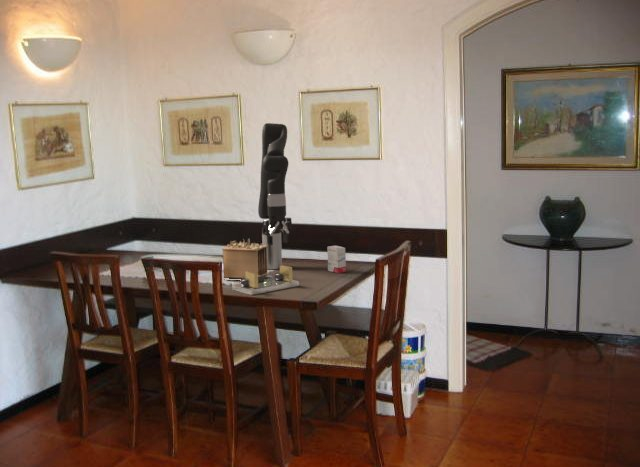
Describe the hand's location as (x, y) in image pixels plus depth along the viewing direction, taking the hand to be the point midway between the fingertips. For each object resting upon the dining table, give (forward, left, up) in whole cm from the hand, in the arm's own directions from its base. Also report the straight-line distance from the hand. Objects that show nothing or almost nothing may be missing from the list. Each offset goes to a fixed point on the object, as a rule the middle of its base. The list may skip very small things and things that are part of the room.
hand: (278, 243), depth 303 cm
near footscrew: (-8, -9, -18) cm, 21 cm away
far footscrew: (-8, +9, -18) cm, 21 cm away
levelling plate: (-9, 0, -20) cm, 22 cm away
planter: (-31, +5, -20) cm, 37 cm away
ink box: (-14, +45, -20) cm, 51 cm away
